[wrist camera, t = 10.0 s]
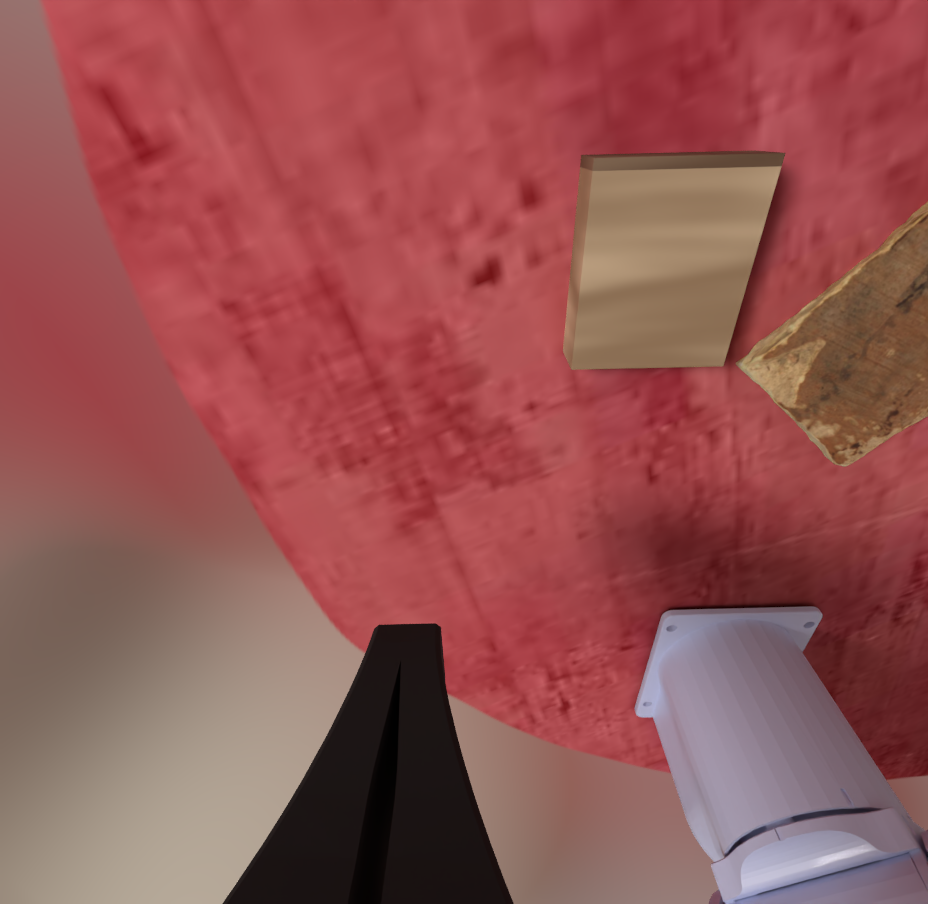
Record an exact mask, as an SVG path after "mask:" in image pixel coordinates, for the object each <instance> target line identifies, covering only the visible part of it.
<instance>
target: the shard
mask: <svg viewBox="0 0 928 904" xmlns="http://www.w3.org/2000/svg"><path fill="white" fill-rule="evenodd" d="M736 365H737V366H738V367H739V368H740V369H741V370H742V371H744V372H745V373H746V375H748V376H749V377H750V378H751V379H752V381H754V382H756V383H757V384H759V385H760V386H761V387H762V388H763V389H764V390H765V391H766V392H767V393H768V394H769V395H770V397H771V398H772V399H773V401H774V402H775V403H776V404H777V405H778V406H779V407H780V408H782V409H783V410H784V411H785V412H786V414H788V415H789V416H790V417H791V418H792V419H793V420H794V421H795V422H796V423H797V425H798V426H799V427H801V428H802V430H803V431H805V432H806V434H807V435H808V437H809V438H810V441H812V442H814V443H815V444H816V445H817V446H818V448H819V449H820V450H821V451H822V452H823V454H824V456H825V457H827V458H828V459H829V460H830V461H831V462H833V463H834V464H836V465H841V466H848V465H850V464H852V463H853V462H855V461H856V460H858V459H860V458H861V457H863V456H865V455H866V454H867V453H868V452H870V451H871V450H873V449H874V448H876V447H877V446H878V445H879V444H881V443H884V442H885V441H886V440H888V439H889V438H890V437H892V436H893V435H894V434H896V433H898V432H901V431H902V430H904V429H905V428H907V427H908V426H911V425H913V424H915V423H917V422H919V421H920V420H922V419H923V418H925V417H927V416H928V202H927V203H926V204H924V205H923V206H922V207H921V208H920V209H918V210H917V211H916V212H914V213H913V214H912V215H911V216H910V218H909V219H908V220H907V221H906V223H904V224H903V225H901V226H899V227H898V228H897V229H895V230H894V231H893V232H892V233H891V235H890V236H889V237H888V238H887V239H886V240H885V242H884V243H883V244H882V246H881V247H880V248H879V249H878V250H876V251H875V252H873V253H872V254H870V255H869V256H868V257H866V258H865V259H863V260H862V261H861V262H859V263H858V264H857V265H856V266H855V267H854V268H853V269H851V270H850V271H848V272H847V273H846V274H845V275H844V276H843V277H842V278H841V279H839V280H838V281H836V282H835V283H833V284H832V285H830V286H829V287H828V288H827V289H826V290H825V291H824V292H823V293H822V294H820V295H819V296H818V297H817V298H816V299H814V300H812V301H811V302H810V303H809V304H807V305H806V306H805V307H804V308H803V309H802V310H801V311H800V312H799V313H797V314H796V315H794V316H793V317H792V318H790V319H788V320H787V321H786V322H785V323H784V324H783V325H781V326H780V327H779V328H777V329H776V330H774V331H773V332H772V333H771V334H769V335H768V336H767V337H766V338H764V339H762V340H760V341H759V342H758V343H757V344H756V345H755V346H754V347H753V348H752V350H751V351H750V352H749V354H748V355H746V356H745V357H744V358H742V359H741V360H739V361H737V362H736Z"/></svg>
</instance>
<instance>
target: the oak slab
mask: <svg viewBox="0 0 928 904" xmlns="http://www.w3.org/2000/svg"><path fill="white" fill-rule="evenodd" d="M784 156H785V153H778V152H765V151H720V152H681V153H642V154H603V155H581V164H580V175H579V186H578V196H577V207H576V218H575V228H574V239H573V250H572V260H571V271H570V281H569V292H568V303H567V313H566V324H565V335H564V345H563V352H564V355H565V357H566V359H567V361H568V363H569V366H570V368H571V370H574V369H620V368H666V367H712V366H724V362H725V359H726V355H727V352H728V348H729V345H730V341H731V338H732V335H733V331H734V328H735V324H736V321H737V317H738V314H739V311H740V307H741V304H742V300H743V297H744V293H745V290H746V287H747V283H748V280H749V276H750V273H751V269H752V266H753V263H754V259H755V256H756V252H757V249H758V245H759V242H760V238H761V235H762V232H763V228H764V225H765V221H766V218H767V214H768V211H769V208H770V204H771V201H772V197H773V194H774V190H775V187H776V184H777V180H778V177H779V173H780V170H781V166H782V163H783V160H784Z"/></svg>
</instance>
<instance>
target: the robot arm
mask: <svg viewBox="0 0 928 904" xmlns="http://www.w3.org/2000/svg"><path fill="white" fill-rule="evenodd" d="M822 616H823V615H822V613H821V611H820V610H819V609H818V608H817V607H813V606H805V607H766V608H726V609H687V610H669V611H666V612H665V613H663V615H662V616H661V619H660V623H659V626H658V630H657V633H656V636H655V640H654V643H653V647H652V650H651V653H650V657H649V660H648V664H647V667H646V671H645V674H644V677H643V681H642V684H641V688H640V691H639V694H638V698H637V701H636V705H635V712H636V715H637V716H639V717H653V719H654V722H655V725H656V728H657V731H658V734H659V737H660V740H661V743H662V746H663V749H664V752H665V755H666V758H667V761H668V764H669V767H670V770H671V773H672V776H673V779H674V782H675V785H676V788H677V791H678V795H679V798H680V801H681V804H682V807H683V810H684V813H685V816H686V819H687V821H688V824H689V826H690V828H691V831H692V833H693V835H694V836H695V838H696V839H697V841H698V843H699V844H700V846H701V847H702V848H703V850H704V851H705V852H706V853H707V854H708V856H709V857H710V858H711V859H712V860H713V861H714V862H713V863H712V864H711V867H712V870H713V873H714V876H715V879H716V882H717V885H718V888H719V890H717V891H716V892H715V893H713V894H712V896H711V898H710V901H709V904H928V830H926V831H925V830H924V829H923V828H921V827H920V826H919V825H917V824H916V823H915V822H913V820H912V819H911V817H910V816H909V814H908V813H907V811H906V810H905V808H904V806H903V805H902V803H901V802H900V800H899V799H898V797H897V796H896V794H895V793H894V791H893V790H892V788H891V787H890V785H889V784H888V782H887V781H886V779H885V777H884V776H883V774H882V773H881V771H880V770H879V768H878V767H877V765H876V764H875V762H874V761H873V759H872V758H871V756H870V755H869V753H868V752H867V750H866V749H865V747H864V745H863V744H862V742H861V741H860V739H859V738H858V736H857V735H856V733H855V732H854V730H853V729H852V727H851V726H850V724H849V723H848V721H847V720H846V718H845V717H844V715H843V714H842V712H841V710H840V709H839V707H838V706H837V704H836V703H835V701H834V700H833V698H832V697H831V695H830V694H829V692H828V691H827V689H826V688H825V686H824V685H823V683H822V682H821V680H820V678H819V677H818V675H817V674H816V672H815V671H814V669H813V668H812V666H811V665H810V663H809V662H808V660H807V659H806V657H805V656H804V654H803V653H802V652H803V650H804V649H805V647H806V645H807V643H808V642H809V640H810V638H811V636H812V635H813V633H814V631H815V629H816V628H817V626H818V624H819V622H820V621H821V619H822ZM223 904H513V901H512V899H511V896H510V894H509V891H508V889H507V886H506V884H505V881H504V879H503V876H502V873H501V870H500V868H499V865H498V862H497V859H496V857H495V854H494V851H493V848H492V846H491V843H490V840H489V837H488V834H487V832H486V829H485V826H484V823H483V820H482V817H481V814H480V811H479V808H478V805H477V802H476V799H475V796H474V793H473V790H472V786H471V783H470V780H469V777H468V773H467V770H466V767H465V763H464V760H463V757H462V753H461V749H460V745H459V742H458V738H457V734H456V730H455V726H454V722H453V717H452V713H451V709H450V705H449V700H448V695H447V690H446V684H445V670H444V659H443V647H442V636H441V627H440V626H438V625H437V624H396V625H378V626H377V627H376V628H375V629H374V631H373V634H372V637H371V640H370V643H369V645H368V648H367V651H366V653H365V656H364V658H363V660H362V663H361V665H360V668H359V670H358V672H357V675H356V677H355V679H354V681H353V683H352V686H351V688H350V690H349V692H348V694H347V696H346V698H345V700H344V702H343V704H342V706H341V708H340V711H339V712H338V714H337V717H336V719H335V720H334V723H333V725H332V727H331V729H330V730H329V733H328V734H327V736H326V738H325V740H324V742H323V744H322V745H321V747H320V749H319V751H318V753H317V754H316V756H315V758H314V760H313V762H312V763H311V765H310V767H309V769H308V771H307V772H306V774H305V776H304V778H303V780H302V782H301V783H300V785H299V787H298V788H297V790H296V792H295V793H294V795H293V797H292V798H291V800H290V802H289V803H288V805H287V807H286V808H285V810H284V812H283V813H282V815H281V816H280V818H279V820H278V821H277V823H276V824H275V826H274V828H273V829H272V831H271V832H270V834H269V835H268V837H267V839H266V840H265V842H264V843H263V845H262V846H261V848H260V849H259V851H258V852H257V854H256V855H255V857H254V858H253V860H252V861H251V863H250V864H249V866H248V867H247V869H246V870H245V872H244V873H243V875H242V876H241V878H240V879H239V880H238V882H237V884H236V885H235V887H234V888H233V890H232V891H231V892H230V894H229V895H228V896H227V898H226V899H225V901H224V903H223Z"/></svg>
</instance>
